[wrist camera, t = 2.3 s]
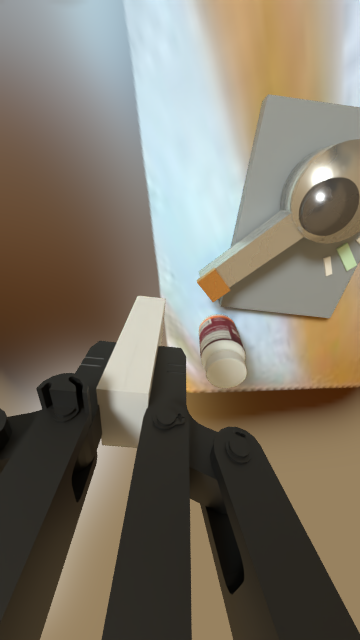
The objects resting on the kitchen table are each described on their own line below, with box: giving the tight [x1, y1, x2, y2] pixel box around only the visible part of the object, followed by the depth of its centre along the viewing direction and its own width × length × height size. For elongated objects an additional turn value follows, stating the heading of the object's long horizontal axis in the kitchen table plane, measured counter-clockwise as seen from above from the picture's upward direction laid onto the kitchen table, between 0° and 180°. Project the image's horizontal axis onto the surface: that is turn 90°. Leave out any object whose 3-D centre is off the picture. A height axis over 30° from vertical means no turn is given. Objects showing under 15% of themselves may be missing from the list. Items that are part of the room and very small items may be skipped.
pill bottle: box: [199, 314, 247, 388], centre depth 26 cm, size 5×5×8 cm
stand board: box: [219, 94, 360, 318], centre depth 22 cm, size 18×14×2 cm
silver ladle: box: [197, 139, 360, 302], centre depth 20 cm, size 16×7×4 cm, turn 129°
